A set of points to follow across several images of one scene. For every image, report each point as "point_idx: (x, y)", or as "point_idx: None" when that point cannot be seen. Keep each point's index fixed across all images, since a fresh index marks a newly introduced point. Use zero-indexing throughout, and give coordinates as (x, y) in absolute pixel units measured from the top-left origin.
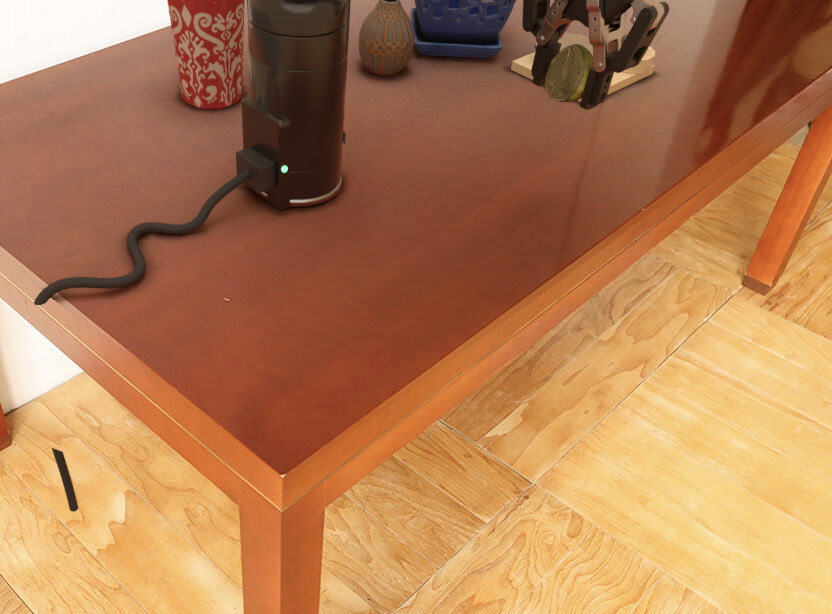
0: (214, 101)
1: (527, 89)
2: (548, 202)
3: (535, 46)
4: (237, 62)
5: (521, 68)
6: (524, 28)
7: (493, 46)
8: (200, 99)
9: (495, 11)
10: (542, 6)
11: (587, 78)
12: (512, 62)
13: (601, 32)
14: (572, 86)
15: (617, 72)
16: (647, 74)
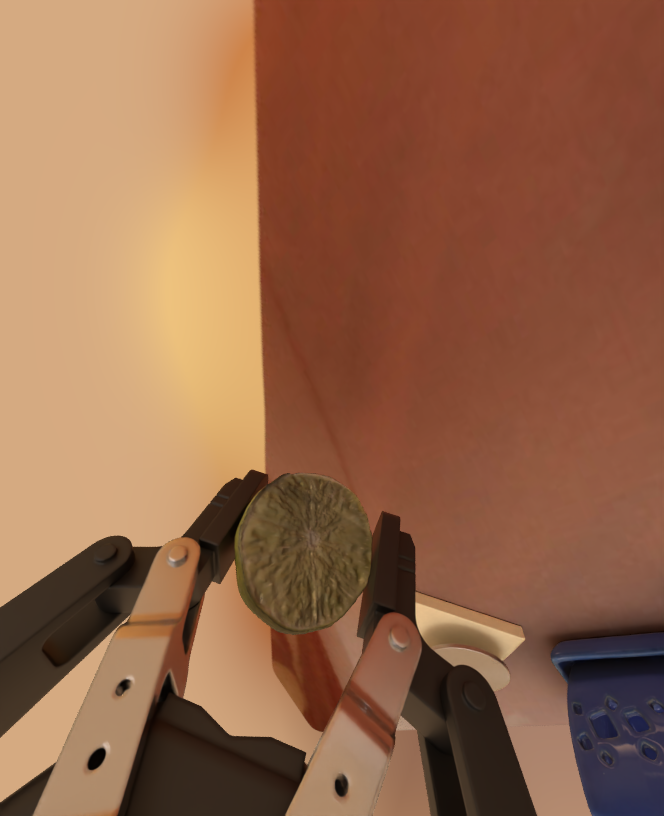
0: None
1: (483, 597)
2: (348, 398)
3: (504, 665)
4: None
5: (507, 629)
6: (480, 679)
7: (564, 659)
8: None
9: (593, 722)
10: (455, 797)
11: (231, 523)
12: (524, 637)
13: (95, 677)
14: (272, 500)
15: (118, 536)
16: None
